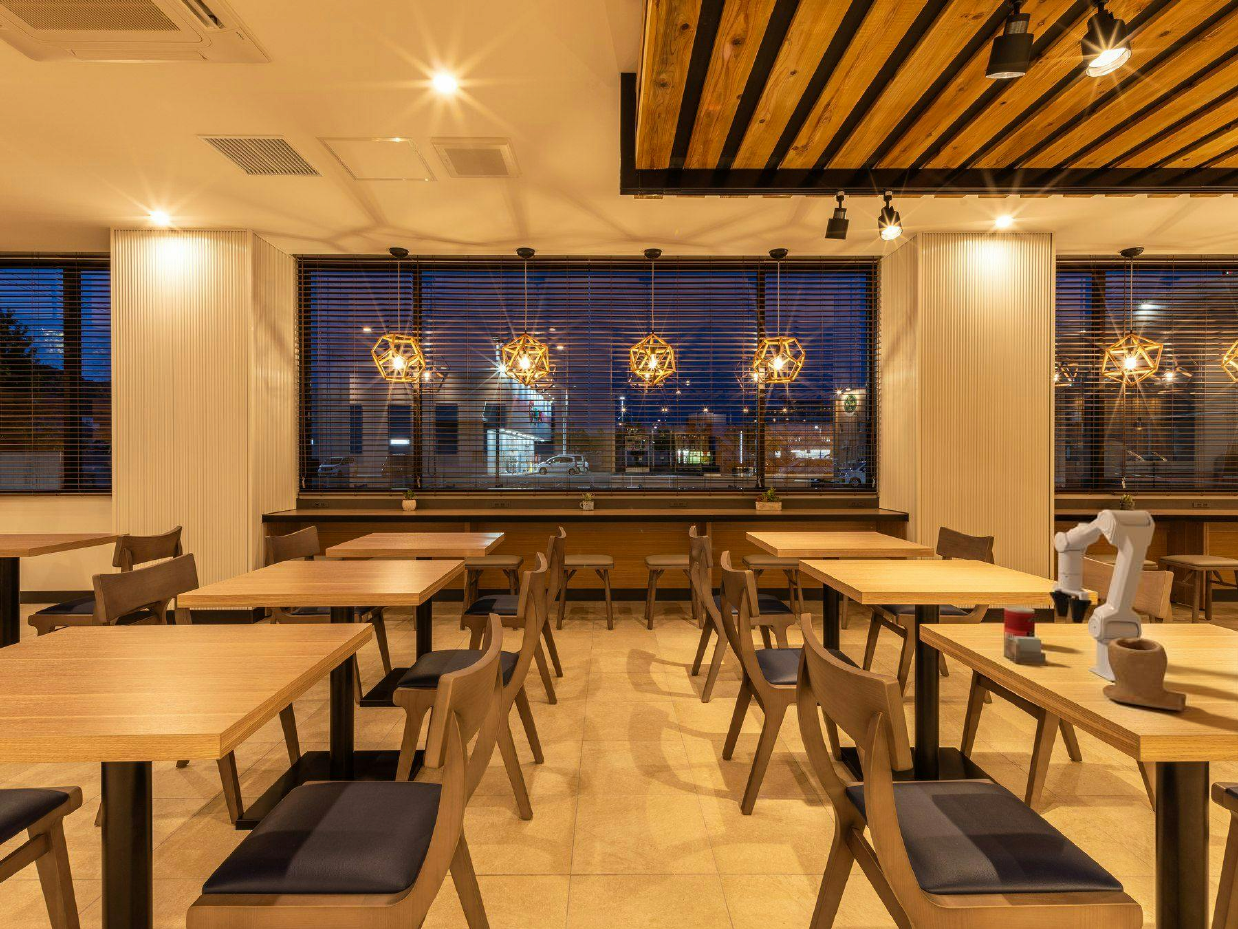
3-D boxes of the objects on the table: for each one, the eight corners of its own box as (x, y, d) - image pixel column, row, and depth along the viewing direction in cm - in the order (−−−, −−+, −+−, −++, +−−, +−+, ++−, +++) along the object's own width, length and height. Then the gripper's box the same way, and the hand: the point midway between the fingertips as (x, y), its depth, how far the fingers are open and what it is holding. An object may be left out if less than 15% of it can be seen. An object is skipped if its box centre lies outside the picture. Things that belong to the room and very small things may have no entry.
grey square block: (1040, 661, 170) (1041, 639, 170) (1017, 660, 171) (1017, 638, 171) (1036, 658, 172) (1036, 637, 172) (1013, 657, 173) (1013, 636, 173)
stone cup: (1104, 705, 140) (1104, 640, 140) (1101, 690, 149) (1102, 629, 149) (1194, 722, 131) (1194, 652, 131) (1185, 705, 140) (1185, 640, 140)
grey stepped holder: (1047, 665, 168) (1047, 645, 168) (1015, 664, 169) (1016, 644, 169) (1034, 657, 175) (1034, 638, 175) (1003, 656, 176) (1004, 637, 176)
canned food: (1033, 649, 183) (1034, 612, 183) (1002, 644, 188) (1003, 608, 188) (1035, 643, 190) (1035, 608, 190) (1005, 638, 194) (1005, 604, 194)
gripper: (1042, 569, 187) (1041, 613, 187) (1069, 577, 173) (1069, 625, 173) (1067, 569, 186) (1066, 614, 186) (1097, 578, 172) (1096, 626, 172)
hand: (1069, 619), depth 180 cm, fingers open, 7 cm apart
